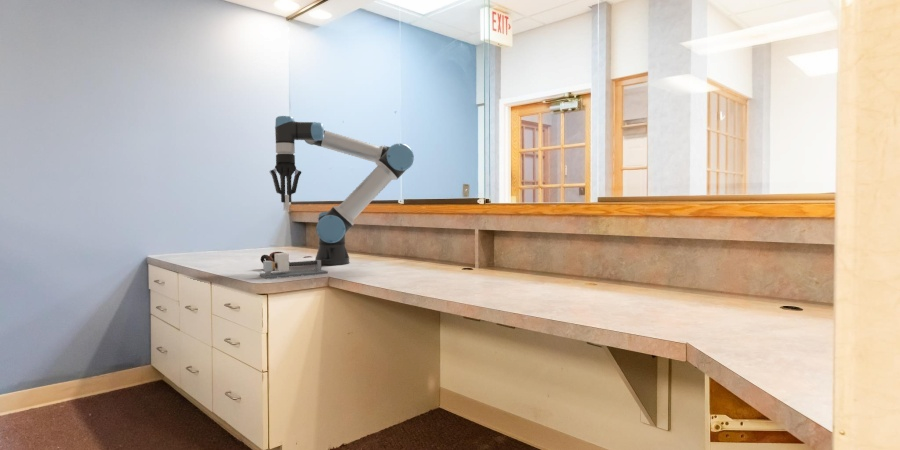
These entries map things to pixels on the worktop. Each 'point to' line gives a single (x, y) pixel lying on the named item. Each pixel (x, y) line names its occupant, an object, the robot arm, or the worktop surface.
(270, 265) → the cord jig
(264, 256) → the pottery mug
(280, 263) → the sleeve
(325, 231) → the robot arm
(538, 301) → the worktop surface
